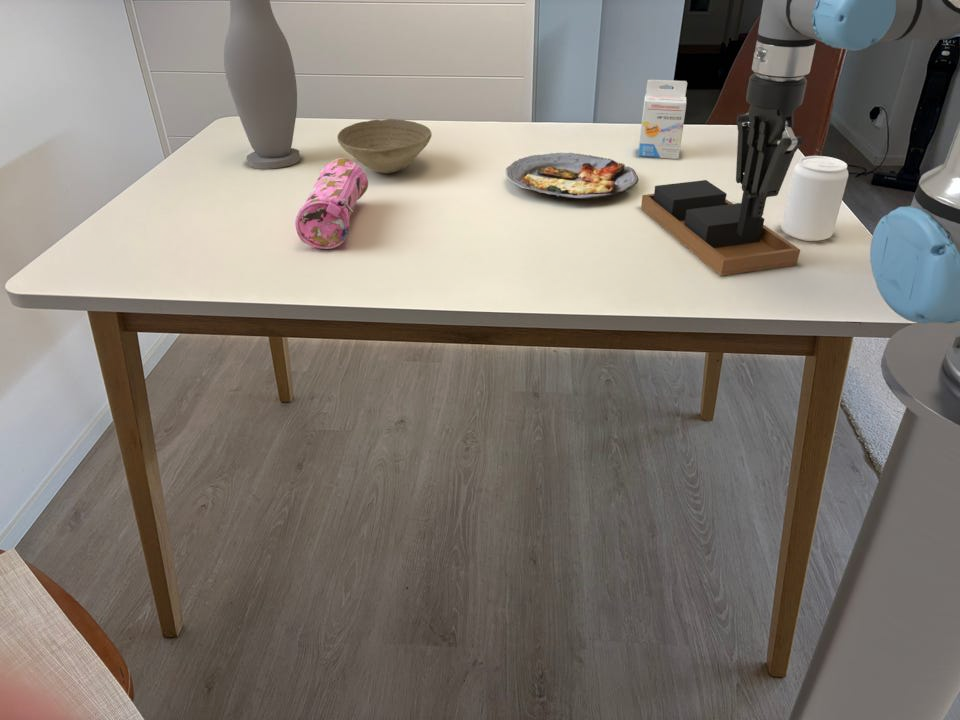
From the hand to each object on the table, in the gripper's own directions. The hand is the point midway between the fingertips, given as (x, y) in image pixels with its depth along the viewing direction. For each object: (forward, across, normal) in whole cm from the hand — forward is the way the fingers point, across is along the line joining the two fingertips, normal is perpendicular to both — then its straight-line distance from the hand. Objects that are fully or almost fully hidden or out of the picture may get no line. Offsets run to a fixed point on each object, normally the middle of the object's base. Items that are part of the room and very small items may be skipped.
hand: (746, 233), depth 116 cm
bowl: (+5, -56, -47) cm, 73 cm away
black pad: (+3, -7, 0) cm, 7 cm away
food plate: (+4, -38, -14) cm, 41 cm away
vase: (+5, -69, -69) cm, 98 cm away
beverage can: (+4, -5, +15) cm, 16 cm away
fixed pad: (+4, -18, 0) cm, 18 cm away
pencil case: (+4, -31, -60) cm, 68 cm away
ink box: (+5, -49, +10) cm, 50 cm away
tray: (+4, -9, 0) cm, 10 cm away
